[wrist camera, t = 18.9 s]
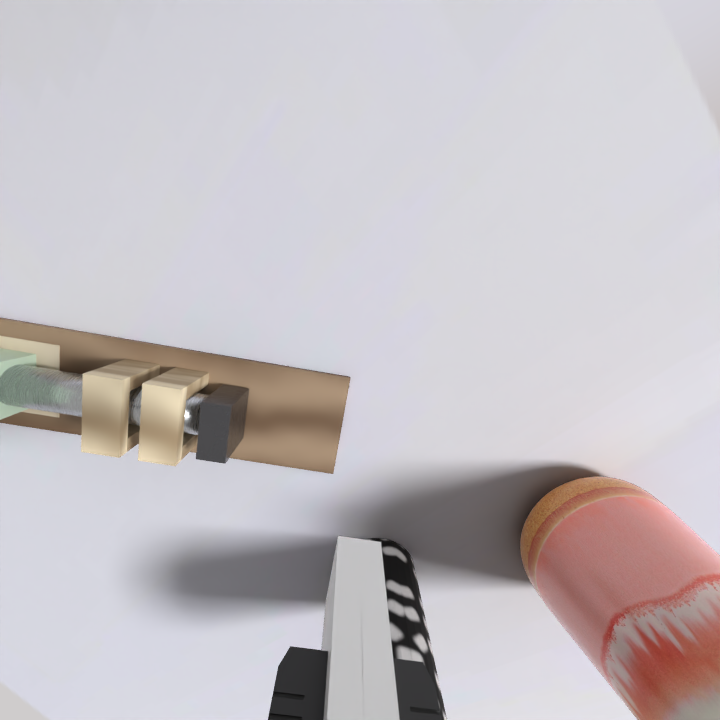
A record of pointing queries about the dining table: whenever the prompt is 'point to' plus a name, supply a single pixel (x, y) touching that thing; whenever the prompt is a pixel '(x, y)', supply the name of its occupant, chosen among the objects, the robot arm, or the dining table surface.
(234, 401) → the shaft
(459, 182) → the dining table surface
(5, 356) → the block
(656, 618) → the vase
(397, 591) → the spotted tube
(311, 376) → the jig
